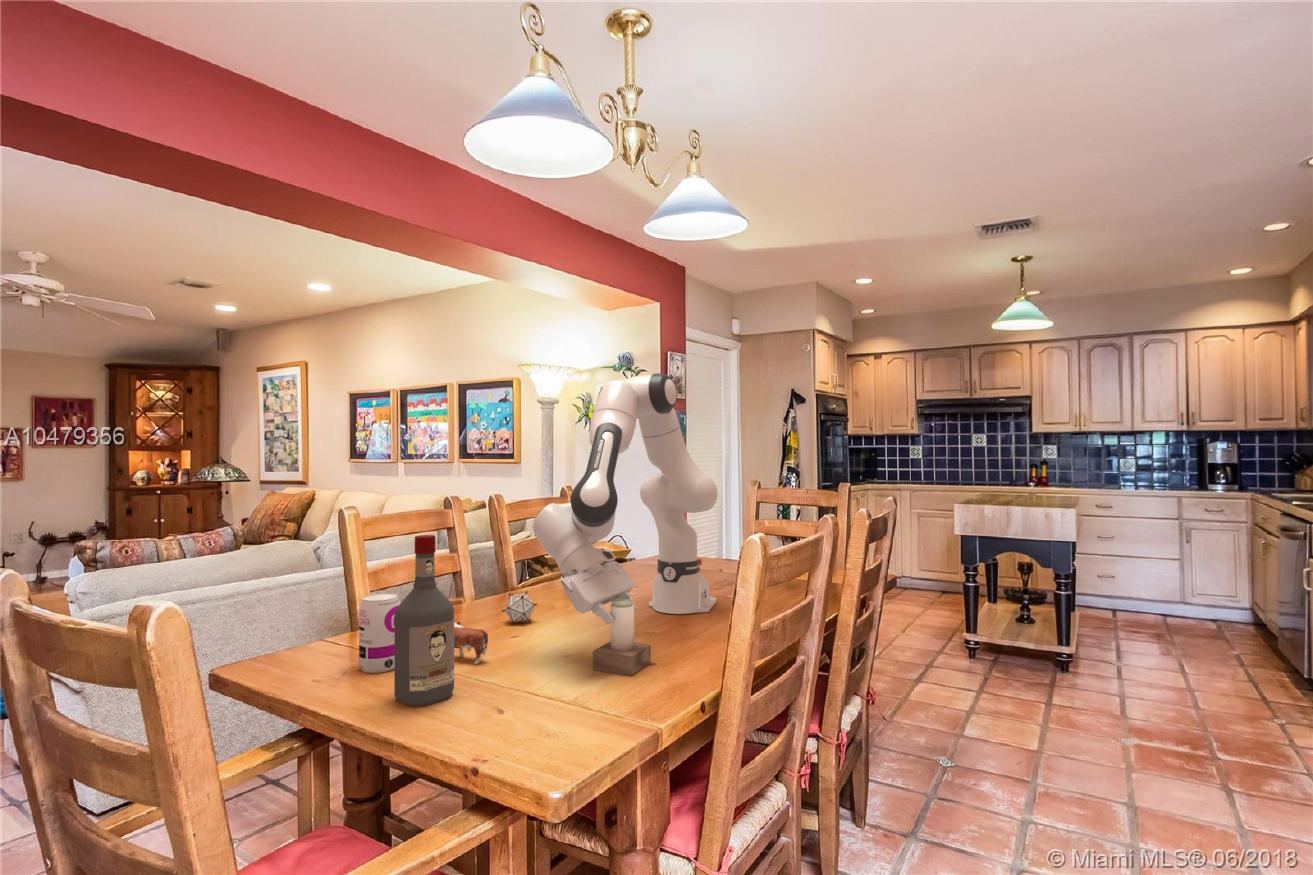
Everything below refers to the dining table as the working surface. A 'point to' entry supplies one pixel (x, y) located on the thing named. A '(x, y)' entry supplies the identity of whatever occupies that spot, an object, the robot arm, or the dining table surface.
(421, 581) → the liquor
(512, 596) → the game die
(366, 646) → the supplement can
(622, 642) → the jar
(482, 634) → the bull figurine
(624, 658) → the plinth
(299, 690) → the dining table surface
